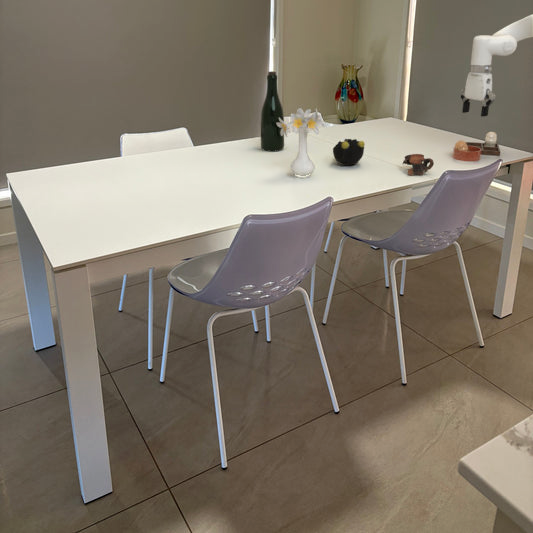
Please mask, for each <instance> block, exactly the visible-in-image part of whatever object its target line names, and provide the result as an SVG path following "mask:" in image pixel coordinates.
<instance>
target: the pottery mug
mask: <svg viewBox="0 0 533 533" xmlns="http://www.w3.org/2000/svg"><path fill="white" fill-rule="evenodd" d="M434 164H435V163H434V160H433V159H432V158H430V157H428V158H426V157H425V155H424V154H421V153H411V154H407V155H405V156H404V160H403V162H402V165H407V166H412V167H411V168H408V169H407V175H408V176H413V175H418V176H424V173H427V172H428V171H429V170H431V169H432V168H433V166H434Z"/></svg>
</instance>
